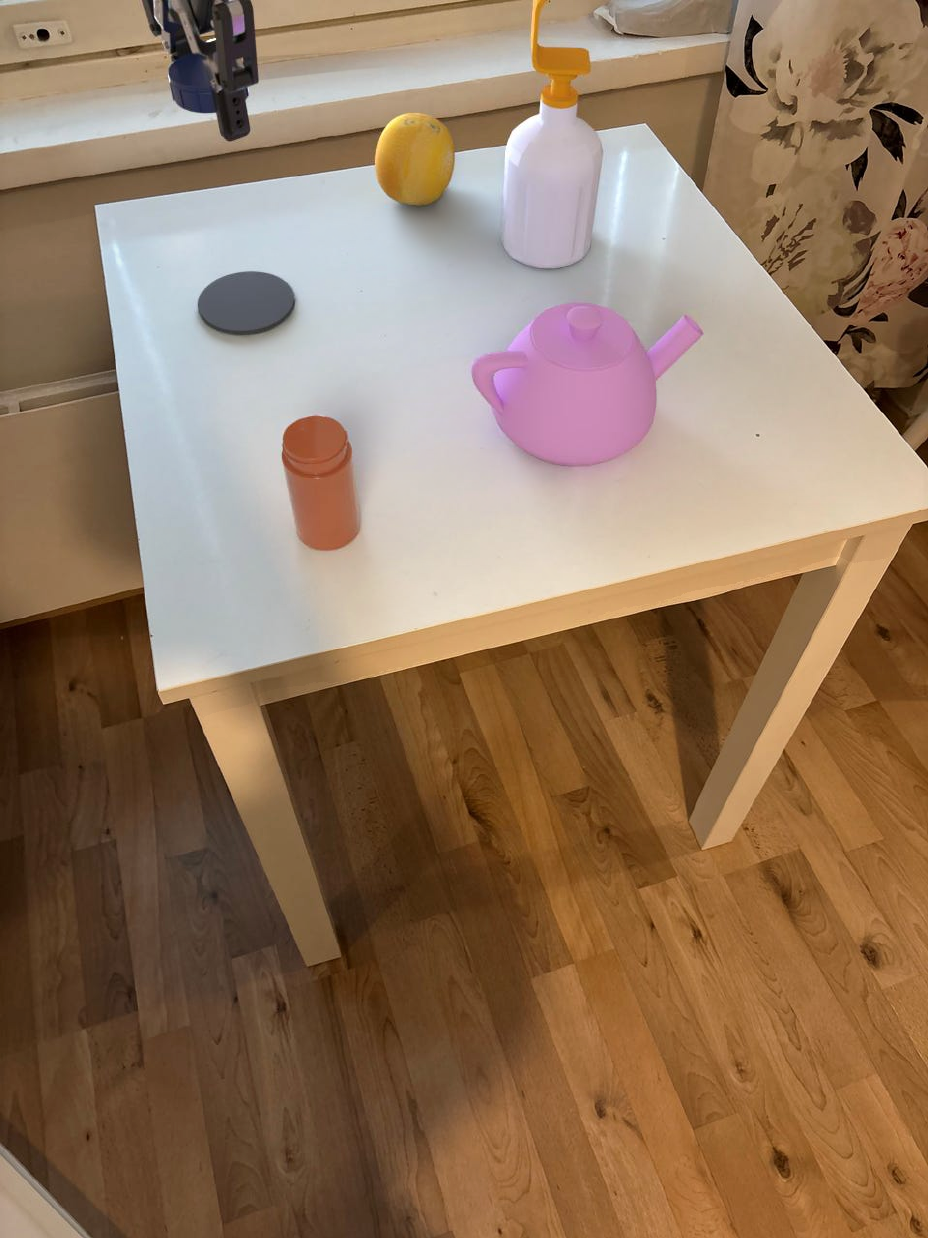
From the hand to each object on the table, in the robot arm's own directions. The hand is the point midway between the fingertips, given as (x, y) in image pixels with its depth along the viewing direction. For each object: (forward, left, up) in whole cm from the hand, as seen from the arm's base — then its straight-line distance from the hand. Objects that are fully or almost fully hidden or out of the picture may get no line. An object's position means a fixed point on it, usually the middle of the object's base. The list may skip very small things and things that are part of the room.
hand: (215, 118), depth 73 cm
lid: (0, 0, +3) cm, 3 cm away
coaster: (-1, +2, -19) cm, 19 cm away
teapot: (+27, -17, -19) cm, 37 cm away
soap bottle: (+29, +8, -19) cm, 36 cm away
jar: (+5, -26, -19) cm, 33 cm away
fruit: (+17, +18, -19) cm, 31 cm away
